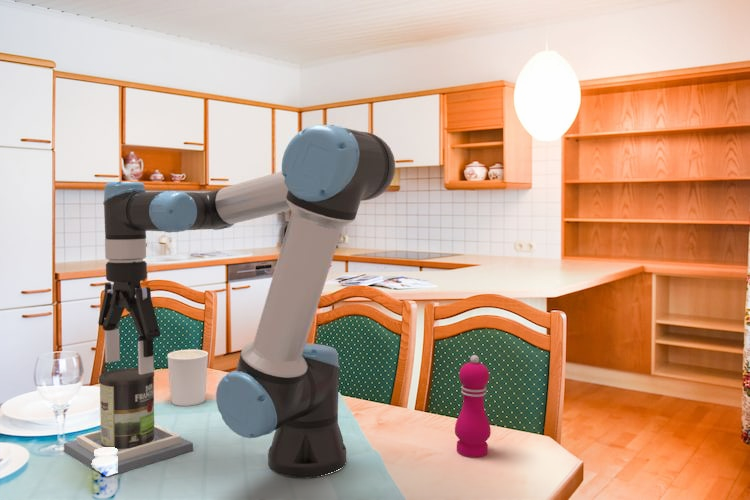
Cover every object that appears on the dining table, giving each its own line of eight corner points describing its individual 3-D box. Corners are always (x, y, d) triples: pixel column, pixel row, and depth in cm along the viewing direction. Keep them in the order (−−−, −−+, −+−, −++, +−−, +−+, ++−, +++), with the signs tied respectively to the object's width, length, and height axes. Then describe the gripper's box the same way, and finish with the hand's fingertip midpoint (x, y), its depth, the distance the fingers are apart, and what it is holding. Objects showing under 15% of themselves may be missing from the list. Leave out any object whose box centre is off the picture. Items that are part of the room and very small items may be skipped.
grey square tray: (193, 450, 132) (193, 435, 132) (106, 477, 118) (105, 461, 118) (147, 428, 144) (147, 415, 144) (64, 450, 130) (63, 436, 130)
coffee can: (164, 436, 135) (164, 369, 134) (136, 455, 125) (135, 382, 124) (120, 432, 137) (119, 366, 136) (89, 450, 127) (87, 378, 126)
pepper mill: (447, 447, 135) (450, 352, 134) (477, 443, 138) (480, 350, 136) (466, 460, 129) (468, 360, 127) (497, 455, 131) (499, 357, 130)
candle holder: (216, 399, 165) (216, 352, 164) (186, 409, 157) (186, 360, 156) (189, 392, 170) (189, 347, 170) (159, 402, 162) (158, 355, 161)
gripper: (177, 263, 123) (179, 374, 124) (114, 256, 139) (117, 354, 141) (140, 265, 117) (142, 382, 119) (79, 258, 134) (82, 360, 135)
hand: (128, 367), depth 130 cm, fingers open, 13 cm apart
